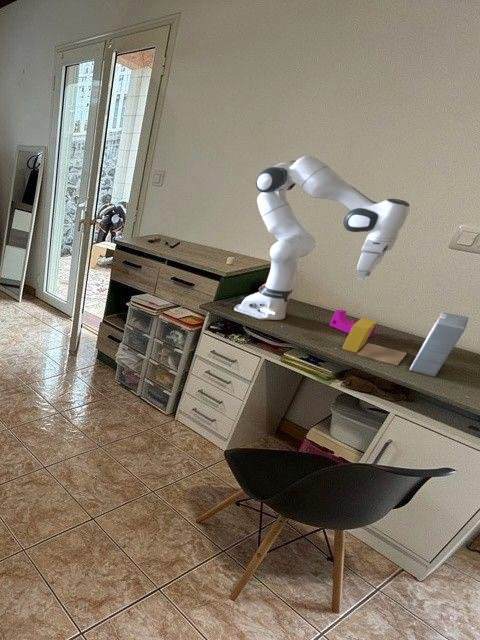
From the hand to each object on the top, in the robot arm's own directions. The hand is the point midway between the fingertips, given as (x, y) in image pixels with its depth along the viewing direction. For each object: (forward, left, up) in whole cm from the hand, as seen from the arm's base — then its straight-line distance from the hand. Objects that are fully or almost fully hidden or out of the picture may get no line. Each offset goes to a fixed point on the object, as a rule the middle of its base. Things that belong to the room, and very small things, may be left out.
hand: (363, 278), depth 173 cm
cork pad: (+17, -2, -28) cm, 33 cm away
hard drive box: (+30, -4, -28) cm, 42 cm away
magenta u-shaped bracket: (+1, +16, -28) cm, 32 cm away
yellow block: (+7, -2, -28) cm, 29 cm away
